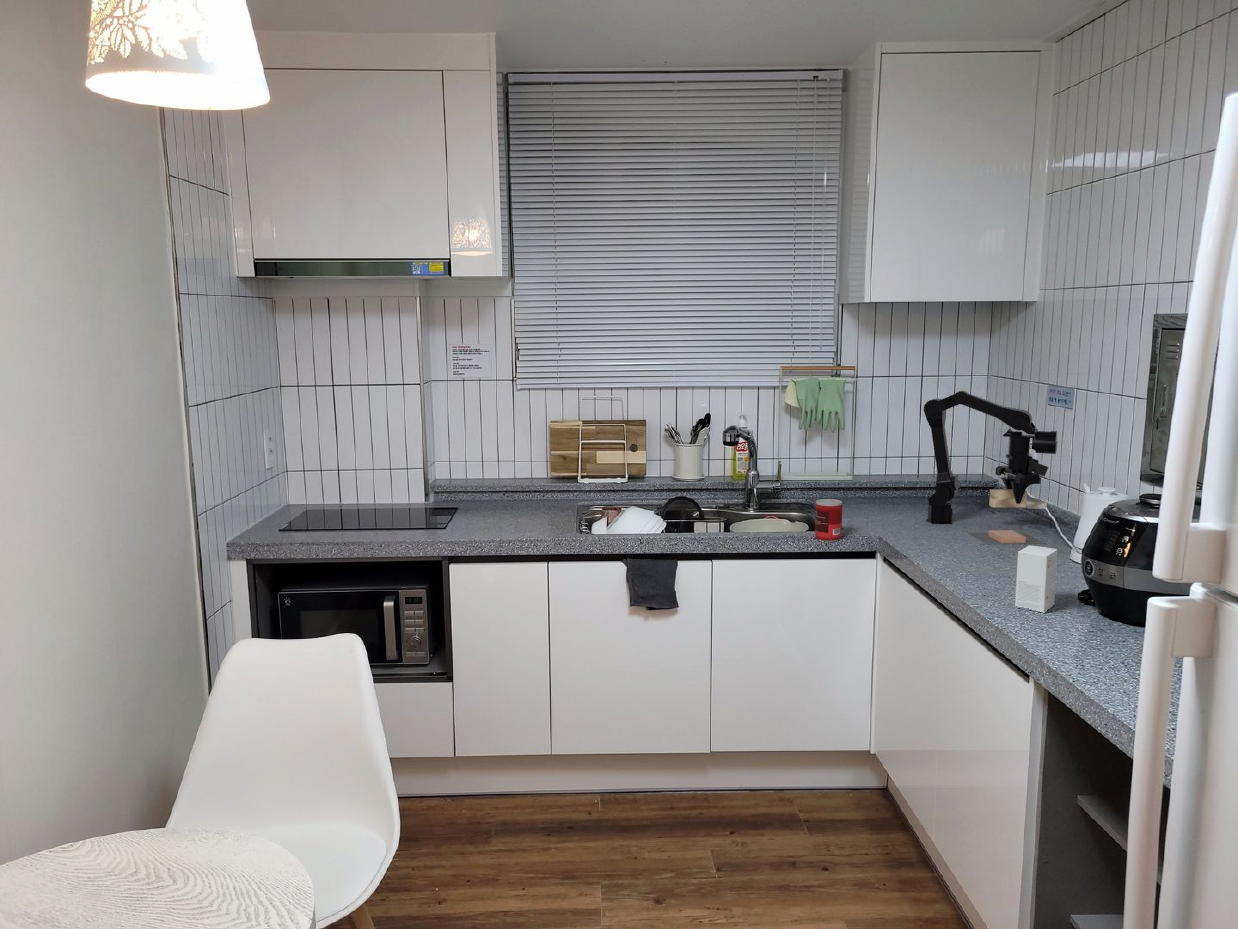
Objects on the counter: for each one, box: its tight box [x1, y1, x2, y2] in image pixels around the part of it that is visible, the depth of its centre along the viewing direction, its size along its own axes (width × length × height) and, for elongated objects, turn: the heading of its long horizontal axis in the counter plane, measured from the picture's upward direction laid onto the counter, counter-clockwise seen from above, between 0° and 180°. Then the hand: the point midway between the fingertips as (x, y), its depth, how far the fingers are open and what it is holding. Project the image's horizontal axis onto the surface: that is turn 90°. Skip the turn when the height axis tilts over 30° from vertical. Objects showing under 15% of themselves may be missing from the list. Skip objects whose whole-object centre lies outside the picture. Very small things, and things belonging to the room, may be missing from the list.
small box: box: [1014, 544, 1058, 614], centre depth 202 cm, size 8×6×13 cm
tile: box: [988, 529, 1026, 543], centre depth 267 cm, size 7×2×9 cm
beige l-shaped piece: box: [988, 488, 1048, 510], centre depth 279 cm, size 15×8×5 cm, turn 90°
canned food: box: [814, 498, 843, 541], centre depth 271 cm, size 8×8×11 cm
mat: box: [967, 531, 1047, 546], centre depth 268 cm, size 17×15×1 cm
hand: (1015, 502), depth 279 cm, fingers closed on beige l-shaped piece, 3 cm apart
